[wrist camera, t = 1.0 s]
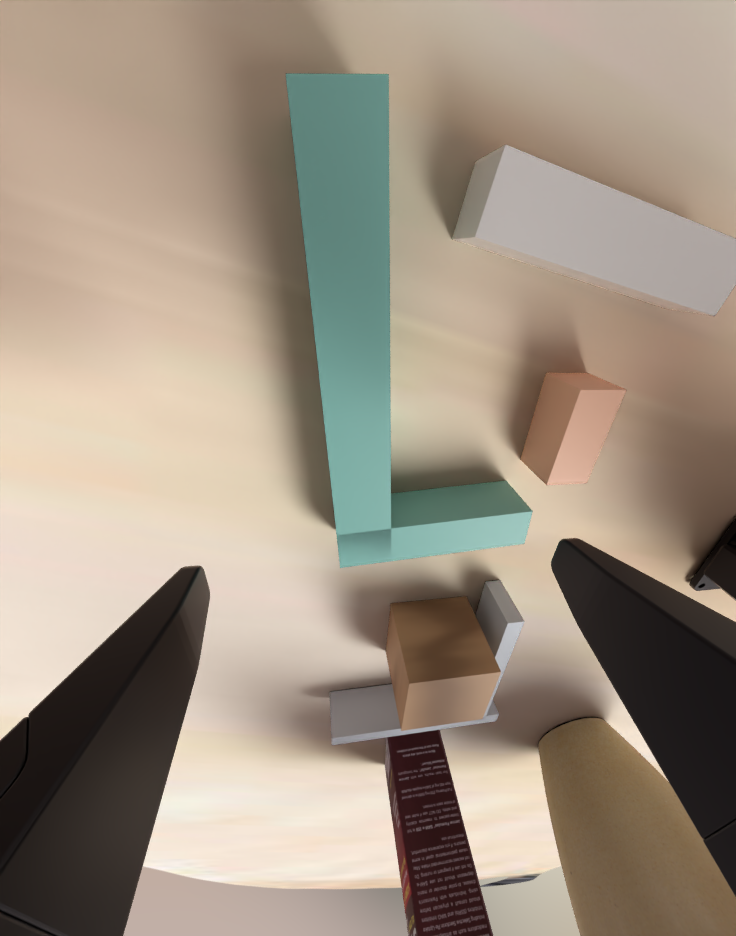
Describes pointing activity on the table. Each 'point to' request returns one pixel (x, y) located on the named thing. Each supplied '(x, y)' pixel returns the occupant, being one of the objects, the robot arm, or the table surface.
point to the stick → (594, 234)
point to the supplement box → (432, 841)
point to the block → (439, 663)
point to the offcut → (570, 426)
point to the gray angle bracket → (375, 706)
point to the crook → (370, 335)
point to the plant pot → (628, 841)
